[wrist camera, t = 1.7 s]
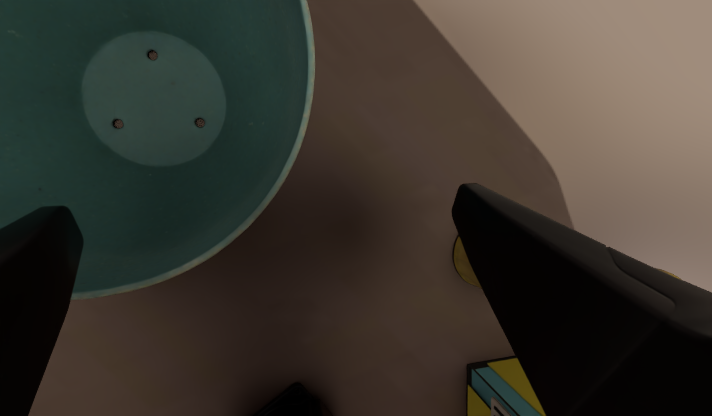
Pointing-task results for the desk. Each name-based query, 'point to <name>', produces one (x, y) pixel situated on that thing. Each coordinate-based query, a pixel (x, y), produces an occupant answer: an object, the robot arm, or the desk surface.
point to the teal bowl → (151, 124)
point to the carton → (500, 389)
